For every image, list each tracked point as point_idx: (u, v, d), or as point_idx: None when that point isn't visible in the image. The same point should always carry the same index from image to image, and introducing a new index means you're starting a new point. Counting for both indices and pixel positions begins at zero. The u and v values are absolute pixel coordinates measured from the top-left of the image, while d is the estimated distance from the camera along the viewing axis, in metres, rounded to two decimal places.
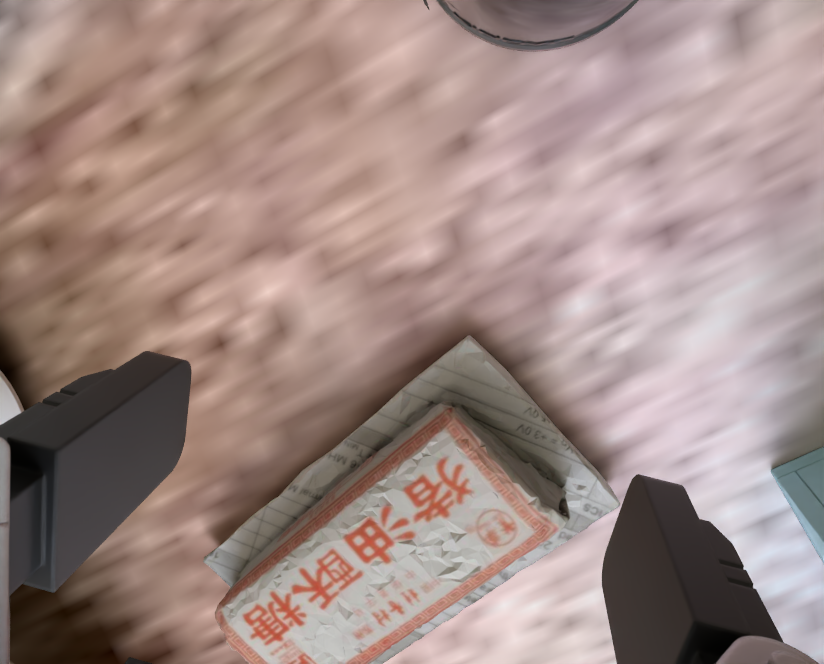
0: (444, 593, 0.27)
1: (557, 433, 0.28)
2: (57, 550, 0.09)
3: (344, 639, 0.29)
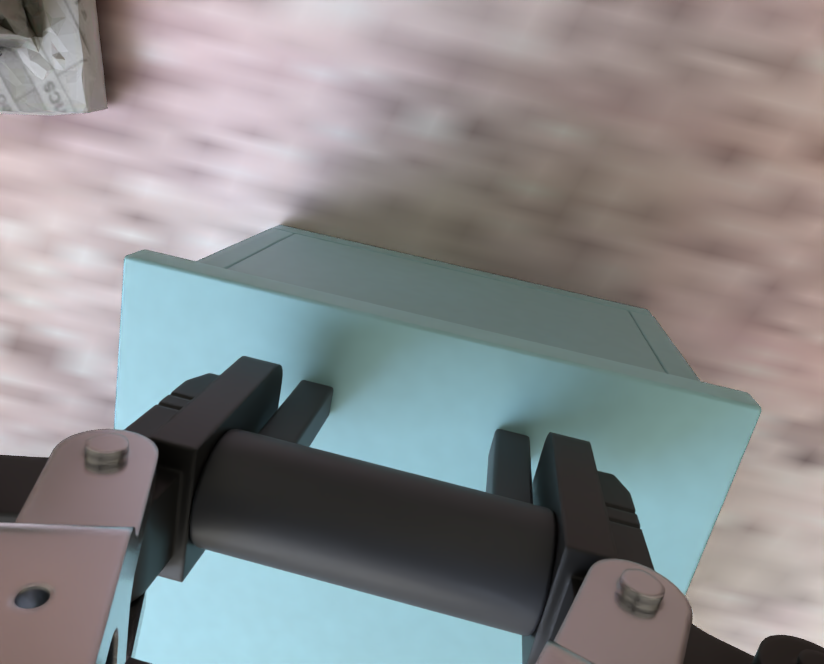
0: None
1: None
2: (187, 542, 0.09)
3: None
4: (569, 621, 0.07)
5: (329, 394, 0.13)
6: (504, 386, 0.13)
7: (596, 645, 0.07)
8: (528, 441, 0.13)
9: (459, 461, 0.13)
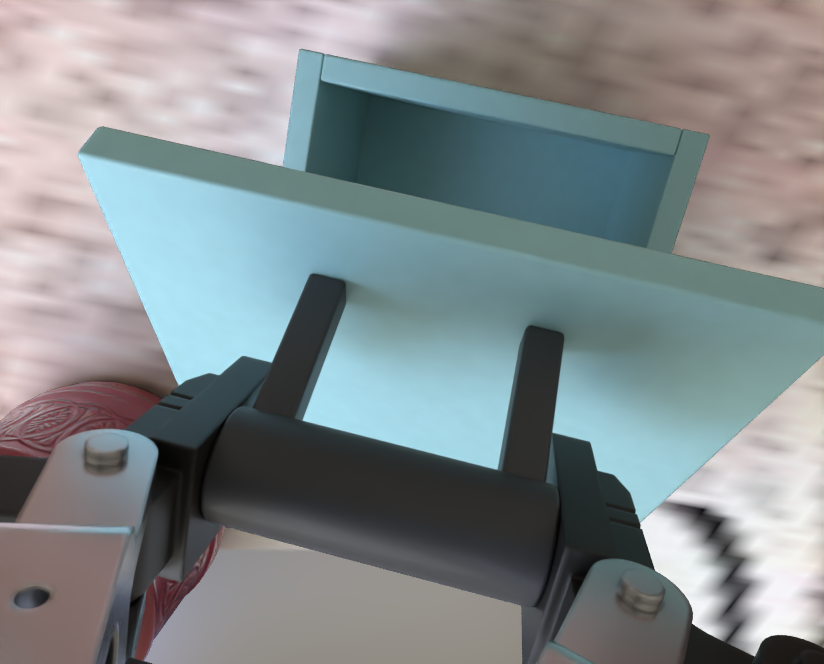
0: None
1: None
2: (187, 542, 0.09)
3: None
4: (570, 622, 0.07)
5: (339, 295, 0.12)
6: (535, 292, 0.11)
7: (597, 645, 0.07)
8: (561, 344, 0.12)
9: (489, 345, 0.13)
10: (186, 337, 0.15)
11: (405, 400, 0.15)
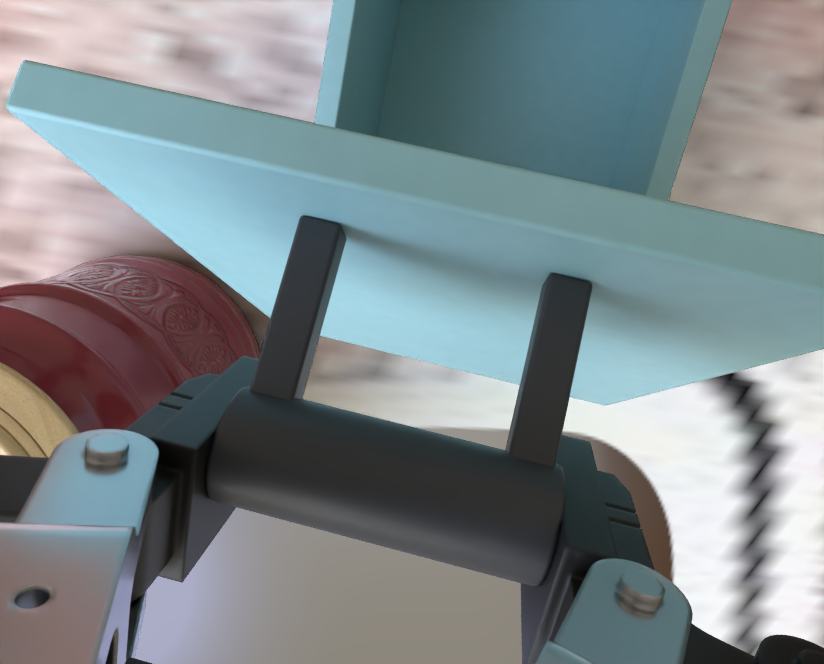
0: None
1: None
2: (187, 542, 0.09)
3: None
4: (569, 621, 0.07)
5: (335, 244, 0.10)
6: (556, 254, 0.09)
7: (596, 645, 0.07)
8: (587, 298, 0.10)
9: (509, 278, 0.11)
10: (192, 237, 0.14)
11: (428, 297, 0.14)
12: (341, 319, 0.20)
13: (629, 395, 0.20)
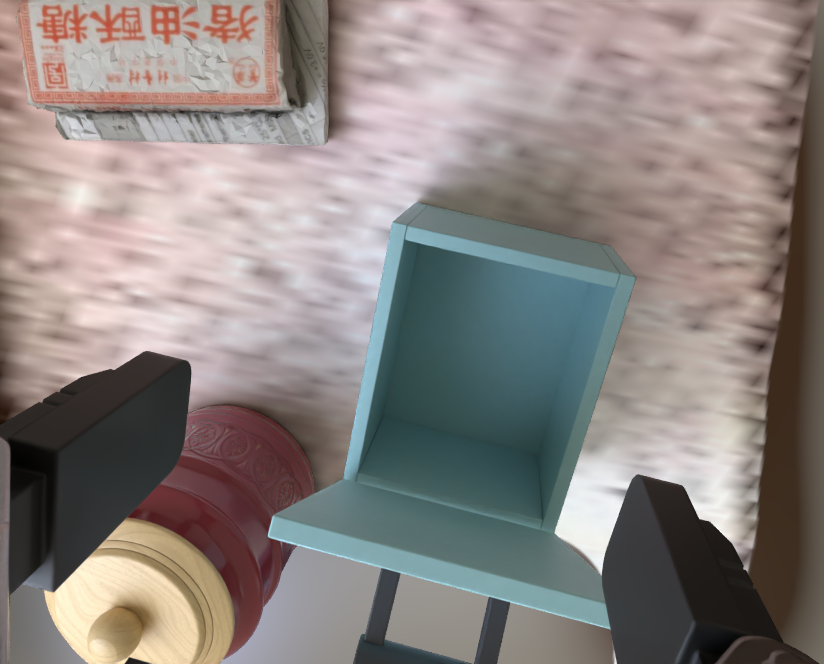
0: (184, 90, 0.38)
1: (325, 73, 0.40)
2: (56, 550, 0.09)
3: (98, 74, 0.38)
4: None
5: (399, 573, 0.24)
6: None
7: None
8: None
9: None
10: None
11: None
12: None
13: None
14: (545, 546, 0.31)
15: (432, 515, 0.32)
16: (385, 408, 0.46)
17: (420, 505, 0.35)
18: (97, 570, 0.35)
